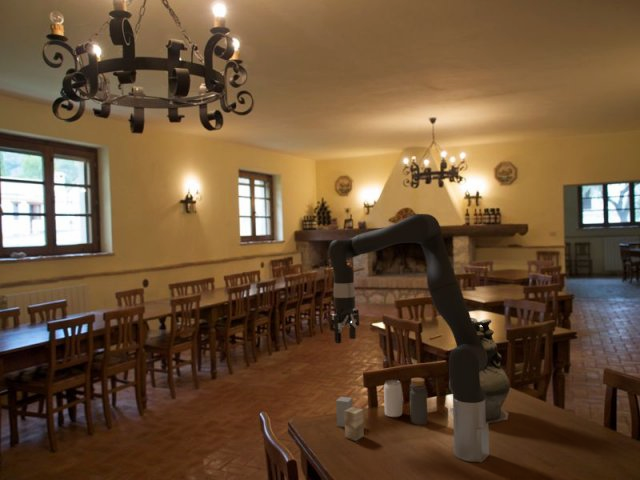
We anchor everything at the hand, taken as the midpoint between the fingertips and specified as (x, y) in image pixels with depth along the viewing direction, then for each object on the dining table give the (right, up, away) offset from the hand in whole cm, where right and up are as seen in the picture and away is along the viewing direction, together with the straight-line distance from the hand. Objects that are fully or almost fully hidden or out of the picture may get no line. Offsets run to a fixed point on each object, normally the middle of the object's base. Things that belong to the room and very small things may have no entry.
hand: (345, 340), depth 176 cm
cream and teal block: (+2, -29, -12) cm, 32 cm away
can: (+18, -29, +7) cm, 35 cm away
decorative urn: (+49, -28, +4) cm, 57 cm away
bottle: (+26, -29, -1) cm, 39 cm away
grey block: (0, -29, -1) cm, 29 cm away
